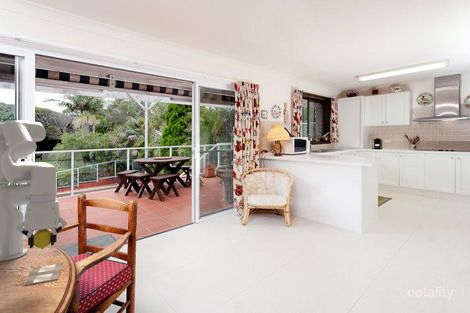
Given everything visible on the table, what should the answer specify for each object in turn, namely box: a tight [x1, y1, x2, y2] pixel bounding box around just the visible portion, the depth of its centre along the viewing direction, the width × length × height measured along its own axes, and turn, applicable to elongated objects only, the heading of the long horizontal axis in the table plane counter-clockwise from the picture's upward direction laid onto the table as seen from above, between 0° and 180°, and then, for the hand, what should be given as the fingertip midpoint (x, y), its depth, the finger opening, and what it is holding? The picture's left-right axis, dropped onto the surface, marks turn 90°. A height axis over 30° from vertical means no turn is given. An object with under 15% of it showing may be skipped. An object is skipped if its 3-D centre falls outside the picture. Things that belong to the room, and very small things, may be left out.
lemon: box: [33, 229, 52, 250], centre depth 91 cm, size 6×6×8 cm
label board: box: [23, 262, 64, 287], centre depth 95 cm, size 14×10×1 cm
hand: (42, 245), depth 92 cm, fingers closed on lemon, 5 cm apart
